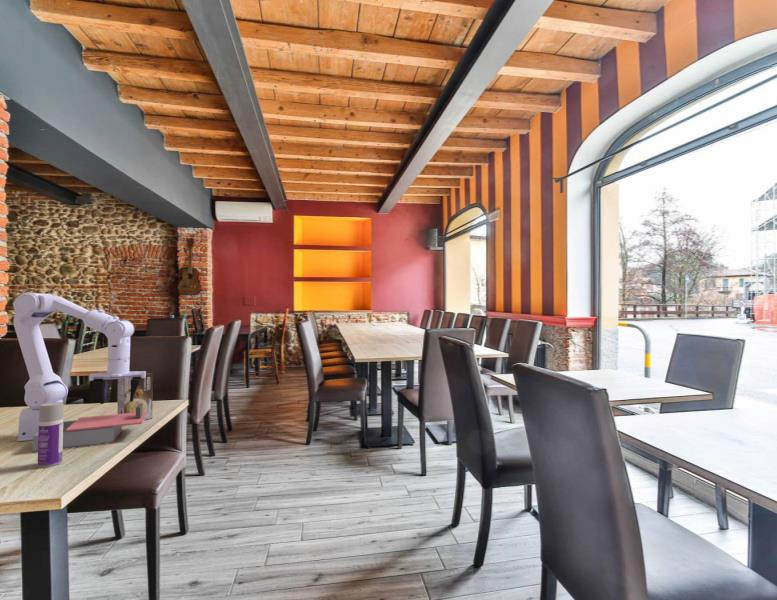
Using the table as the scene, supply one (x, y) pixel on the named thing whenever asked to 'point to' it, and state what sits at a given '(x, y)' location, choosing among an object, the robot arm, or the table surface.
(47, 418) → the container
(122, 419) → the lid
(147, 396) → the coffee box
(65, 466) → the table surface
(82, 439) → the carton
